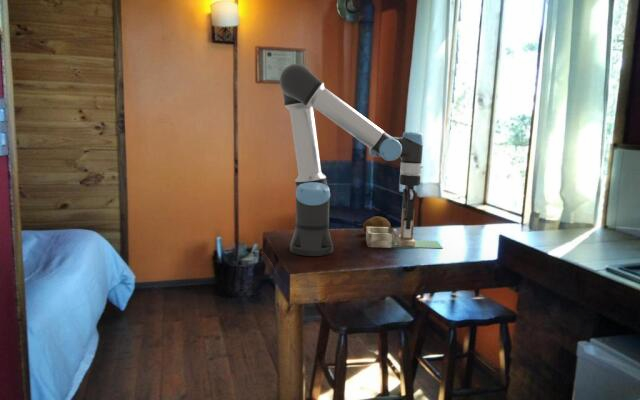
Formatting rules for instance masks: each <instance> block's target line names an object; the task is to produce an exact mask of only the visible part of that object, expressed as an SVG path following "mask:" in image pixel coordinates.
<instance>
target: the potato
mask: <svg viewBox="0 0 640 400" xmlns="http://www.w3.org/2000/svg"><path fill="white" fill-rule="evenodd" d="M366 227H389V230H390V229H391V223H390V221H389V219H387V218H386V217H383V216H378V215H376V216H372V217H370V218H367V219H366V220H365V221H364V222H363V224H362V230H363V232H364V234H366Z"/></svg>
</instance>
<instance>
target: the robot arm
mask: <svg viewBox="0 0 640 400" xmlns="http://www.w3.org/2000/svg"><path fill="white" fill-rule="evenodd" d="M279 87H280V89H281V92H282V95H283V103H284V107H285V108H286V109H287V110H288V111H289V116H290V122H291V130H292V137H293V139H292V140H293V144H294V146H293V147H294V152H295V159H296V166H297V172H298V176H297V177H296V179H295V180H294V183H295V189H296V190H295V229H294V232H293V234H292V235H293V236H292V238H291V241H290V243H289V246H290V247H289V251H290V253H293V254H295V255H299V256H304V257H305V256H307V257H318V256H319V257H320V256H321V257H323V256H327V255H330V254H332V253H333V252H334V244H333V240H332V237H331V234H330V229H329V227H330V226H329V225H330V198H331V192H330V191H331V190H330V187H329V186H328V181H327V176H326V175H325V174H324V173H323V172H322V167H321V159H320V157H321V156H320V151H319V144H318V143H319V142H318V136H317V134H318V133H317V127H316V121H315V114H314V112H315V111H314V109H315V110H317V111H318V112H319V113H320V114H322V115H323V116H325V117H326V118H328V119H329V120H330V121H332V122H333V123H334V124H335V125H337V126H338V127H340V128H342V130H344V131H345V132H347V133H348V134H349V135H351V136H352V137H353V138H355V139H356V140H357V141H359V142H360V143H362V144H363V145H364V146H366V147H368V152H369V156H370V157H376V158H382V159H383V160H384V161H387V162H390V161H391V162H392V161H393V162H394V161H396V160H397V159H398V158H400V160H401V161H400V167H399V168H400V169H399V172H400V175H399V184H400V185H402V186H404V188H403V189H402V193H403V194H402V208H406V210H405V219H403V220H404V232H403V237H405V238H411V227H412V220H413V214H414V215H415V199H416V190H415V188H414V187H417V186H420V185H421V179H422V178H421V175H420V174H421V173H422V169H423V167H424V166H423V165H422V160H423V150H424V149H423V147H424V135H423V133H422V132H418V131H417V132H416V131H415V132H413V131H404V132H403V133H402V136H391V135H390V134H389V133H387V132H386V131H384V130H383V129H382V128H380V127H379V126H377V125H376V124H375V123H373V122H372V121H371V120H369V119H368V118H367V117H366V116H364V115H363V114H361V113H360V112H359V111H357V110H356V109H355V108H353V107H352V106H350V105H349V104H348V103H347V102H345V101H344V100H342V99H341V98H340V97H338V96H337V95H336V94H334V93H333V92H331V91H330V90H329V89H328V88H326V86H325V83H324V81H322V80H320V79H319V78H318V77H317V76H316V75H315V74H313V72H312V71H311V70H310V69H309V68H308V67H306V66H305V65H303V64H300V63H293V64H290V65H288V66H286V67H285V68H284V69H283V70H282V72H281V73H280V76H279ZM402 208H401V209H402Z"/></svg>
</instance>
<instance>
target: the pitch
mask: <svg viewBox="0 0 640 400" xmlns="http://www.w3.org/2000/svg"><path fill="white" fill-rule="evenodd" d="M414 240H415V246H399V245H395V244H394V242H393V239H392V245H391V248H409V249H410V248H411V249H413V248H414V249H440V250H443V248H444V247H443V246H442V245H441V244H440V243H439V241H438V240H421V239H420V240H419V239H418V240H417V239H414Z"/></svg>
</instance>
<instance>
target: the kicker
mask: <svg viewBox="0 0 640 400" xmlns="http://www.w3.org/2000/svg"><path fill="white" fill-rule="evenodd" d="M405 210H406V208H401V219H400V220H401V222H400V224H401V225H400V233H399V231H398V230H397V228H392V240H393V242H394V244H395V245H399V246H415V240H416V239H414V225H415V223H414V222H415V213H414V214H413V220H412V227H411V238H405V237H403V232H404V220H403V219H405Z"/></svg>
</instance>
